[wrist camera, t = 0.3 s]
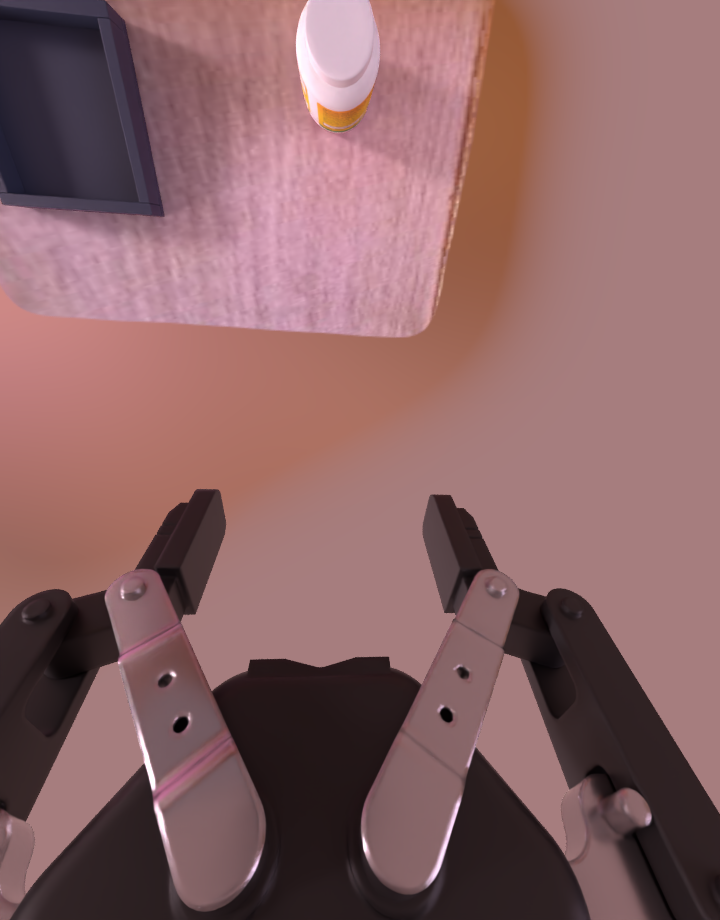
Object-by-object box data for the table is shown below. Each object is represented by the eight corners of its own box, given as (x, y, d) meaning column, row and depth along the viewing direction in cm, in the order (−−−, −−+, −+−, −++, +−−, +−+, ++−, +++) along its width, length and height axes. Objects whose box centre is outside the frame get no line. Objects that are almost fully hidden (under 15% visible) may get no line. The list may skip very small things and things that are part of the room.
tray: (-52, 0, 24) (-90, -24, 22) (125, 20, 25) (105, -1, 23) (26, 207, 30) (2, 204, 28) (164, 216, 31) (152, 215, 29)
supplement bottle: (289, 88, 27) (270, 25, 19) (335, 17, 25) (336, -87, 17) (338, 153, 30) (341, 120, 21) (384, 91, 28) (405, 30, 20)
